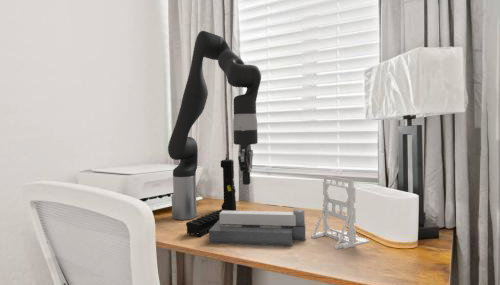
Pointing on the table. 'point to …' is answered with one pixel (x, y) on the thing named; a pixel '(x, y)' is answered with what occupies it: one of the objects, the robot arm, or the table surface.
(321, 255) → the table surface
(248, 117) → the robot arm
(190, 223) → the rail mount
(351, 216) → the film strip holder
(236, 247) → the table surface
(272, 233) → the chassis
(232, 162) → the portable radio
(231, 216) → the bar
